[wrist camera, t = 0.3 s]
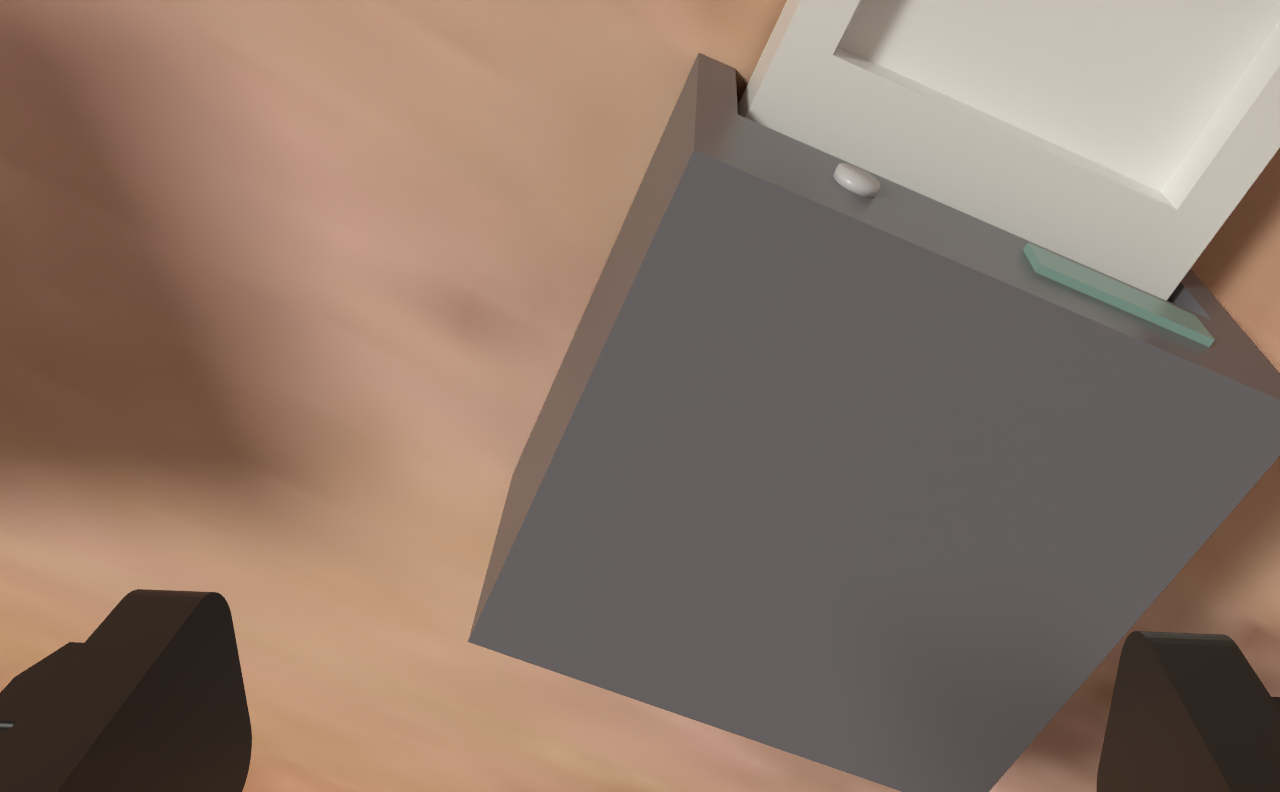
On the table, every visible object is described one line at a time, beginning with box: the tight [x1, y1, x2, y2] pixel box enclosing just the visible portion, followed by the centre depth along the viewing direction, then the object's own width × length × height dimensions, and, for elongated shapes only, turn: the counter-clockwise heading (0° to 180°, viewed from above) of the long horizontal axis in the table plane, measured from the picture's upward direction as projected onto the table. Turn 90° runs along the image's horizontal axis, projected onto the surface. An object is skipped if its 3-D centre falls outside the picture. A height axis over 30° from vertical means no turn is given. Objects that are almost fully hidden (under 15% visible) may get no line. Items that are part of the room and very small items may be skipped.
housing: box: [468, 53, 1280, 792], centre depth 30 cm, size 14×14×7 cm
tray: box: [737, 0, 1280, 301], centre depth 25 cm, size 14×14×6 cm
